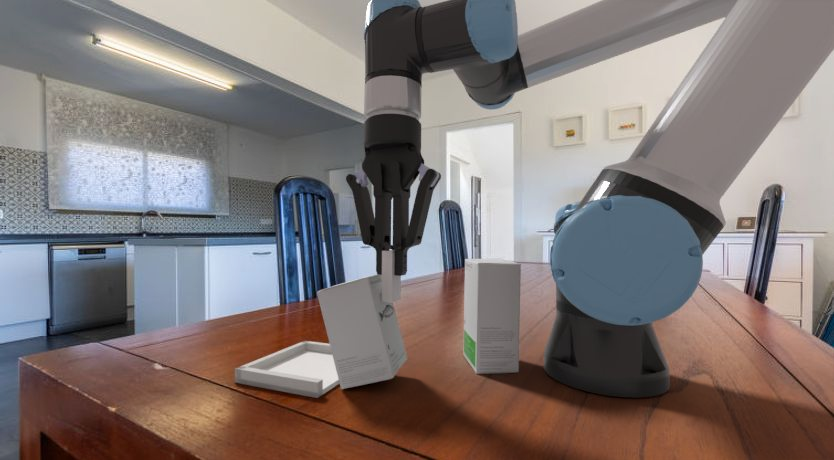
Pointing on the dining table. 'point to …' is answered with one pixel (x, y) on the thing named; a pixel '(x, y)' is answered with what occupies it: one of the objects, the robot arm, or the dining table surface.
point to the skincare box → (492, 315)
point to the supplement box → (362, 331)
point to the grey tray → (293, 370)
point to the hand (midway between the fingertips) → (391, 300)
